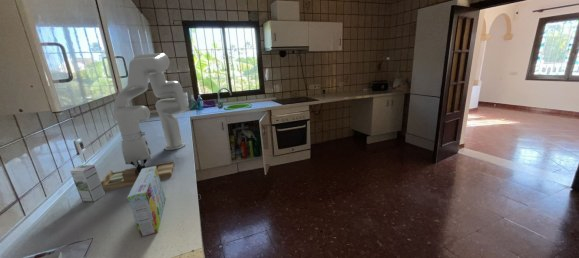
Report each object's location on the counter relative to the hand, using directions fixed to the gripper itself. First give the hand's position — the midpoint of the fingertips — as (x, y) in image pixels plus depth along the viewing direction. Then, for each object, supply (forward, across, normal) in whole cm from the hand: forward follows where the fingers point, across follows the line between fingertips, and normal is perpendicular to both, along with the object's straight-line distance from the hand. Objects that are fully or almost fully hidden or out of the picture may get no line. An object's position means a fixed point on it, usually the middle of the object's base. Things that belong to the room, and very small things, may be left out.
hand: (142, 173), depth 111 cm
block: (+2, +5, 0) cm, 5 cm away
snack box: (+4, -10, +34) cm, 36 cm away
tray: (+4, +2, -4) cm, 5 cm away
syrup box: (+4, +17, +8) cm, 20 cm away
